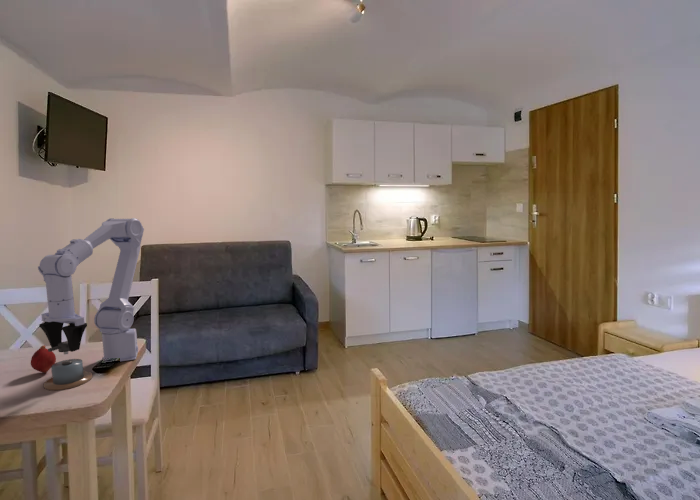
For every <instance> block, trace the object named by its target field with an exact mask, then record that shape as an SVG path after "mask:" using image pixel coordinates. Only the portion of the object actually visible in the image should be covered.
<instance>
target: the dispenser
mask: <svg viewBox="0 0 700 500" xmlns="http://www.w3.org/2000/svg"><path fill="white" fill-rule="evenodd" d="M83 363H84V362H83V360H82V359H81V358H80V359H79V358H70V359H65V360H61V361H58V362H57V361H56V362H55V364H53V365H52V366H51V368H50V370H51V376H52V377H51V378H49V379H47V380H46V381H45V382H44V383H43V388H44V389H45V390H47V391H62V390H69V389H72V388H76V387H79V386H82V385H84V384H86V383H88V382H90V381H91V380H92V379H93V373H92V372H91V371H86V370H84V365H83Z"/></svg>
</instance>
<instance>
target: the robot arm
mask: <svg viewBox="0 0 700 500" xmlns="http://www.w3.org/2000/svg"><path fill="white" fill-rule="evenodd" d="M144 231H145V228H144V226H143V225H142V222H141V220H139V218H135V217H132V218H110V217H109V218H108V219H106V220H105V221H102V222H101V225H100V226H99V227H98V228H97V229H95V230H94V231H93V232H92V233H90V234H89V235H87V236H86V237H85V238H84V239H82V238H76V239H71V240H70V241H69V244H67V245H66V246H64V247H63V248H59V249H57V250H56V252H55V253H54V254H47V255H45V256H44V257H42V259H41V260H40V262H39V265H38V266H37V270H38V272H39V273H40V275H42V277H43V282H45V288H46V289H45V290H46V297H47V298H46V299H47V309H48V311H47V312H44V313H41V321H42V323H40V324H39V328H40V329H41V330H42V332H44V335H45V336H46V338H47V339H48V342H49V344H50V348H52V347H56V346H58V344H59V343H61V342H63V341H62V340H63V339H62V333H63V334H64V336H65V338H66V341H68V346H69V350H70V351H69V352H76V351H79V350H80V349H81V348H80V347H81V343H82V338H83V334H84V332H85V331H86V329H87V327H88V323H87V322H85V317H84V316H81V315H79V314H78V313H76V310H75V300H74V289H73V280H72V279H73V278H72V275H74V274H75V272H76V270H77V267H78V266H79V265H81V264H82V263H83V262H84V261H85V260H87V259H88V258H90V257H91V256H92V255H93V251H94V250H93V249H95V248H97V247H98V246H100V245H102V244H103V243H105V242H106V241H108V240H110V241H111V242H112V243H113V244H114V245H115V246H116V247H118V249H119V250H120V251H119V255H118V260H117V263H116V268H115V271H114V275H113V277H112V278H113V280H112V282H111V283H112V284H111V287H110V292H109V294H108V297H107V299H106V300H104V301H103V302H101V303H100V305H99V308H98V310H97V311H96V313H95V315H94V319H93V323H94V325H95V327H96V328H97V329H99V332H100V333H101V338H102V339H101V341H102V350H103V351H102V352H103V357H102V360H103V359H105V358H120V362H125V361H132V360H133V361H134V360H136V359H137V356H138V353H139V345H138V335H137V329H136V328H131V327H132V325H133V323H134V319H135V317H134V312H135V310H134V309H135V307H134V306H133V304H132V303H131V302H130V301H129V298H130V294H131V289H132V286H133V281H134V277H135V273H136V268H137V264H138V260H139V256H140V251H141V244H142V239H143V235H144ZM64 324H66V325H65V326H64ZM67 324H68V325H67ZM102 360H101V361H102Z"/></svg>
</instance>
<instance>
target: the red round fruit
mask: <svg viewBox="0 0 700 500" xmlns="http://www.w3.org/2000/svg"><path fill="white" fill-rule="evenodd" d="M48 349H49V348H47V347H46V345H41V346H40V347H39V349H37V350H36V351H35V352H34V353H33V354H32V356H31V358H30V366H31V368H32V369H33V370H35V371H37V372H39V373H42V374H44V373H45V374H46V373H48V371H50V370H51V366H52V365H53V364H55V363H57V356H56V354H55V352H54V351H51V352H49V351H48Z"/></svg>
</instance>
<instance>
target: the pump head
mask: <svg viewBox="0 0 700 500" xmlns="http://www.w3.org/2000/svg"><path fill="white" fill-rule="evenodd" d="M47 349H48V351H49V352H51V351H52V352H54V351H57V350H58V353H63V355H68V354H69V352H70V350H69V346H68V341H67V340H66V341H65V340H64V341H62V342H61V343H59V344H58V346H56V347H50V348H47Z"/></svg>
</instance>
